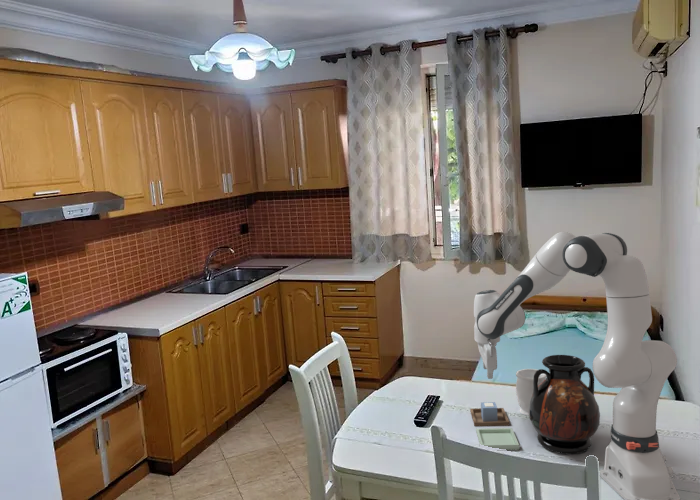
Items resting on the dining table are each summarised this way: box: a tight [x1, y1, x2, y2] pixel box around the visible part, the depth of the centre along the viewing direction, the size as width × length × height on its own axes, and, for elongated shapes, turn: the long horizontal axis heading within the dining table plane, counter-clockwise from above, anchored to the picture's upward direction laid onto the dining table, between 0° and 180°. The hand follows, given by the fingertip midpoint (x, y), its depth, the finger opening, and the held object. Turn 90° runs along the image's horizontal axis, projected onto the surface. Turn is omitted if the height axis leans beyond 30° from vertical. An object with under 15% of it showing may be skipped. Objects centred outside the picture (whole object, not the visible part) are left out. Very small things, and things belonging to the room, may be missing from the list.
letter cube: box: [480, 401, 498, 422], centre depth 208 cm, size 5×5×5 cm
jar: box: [515, 368, 546, 416], centre depth 211 cm, size 11×10×15 cm
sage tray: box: [475, 427, 520, 451], centre depth 192 cm, size 12×12×2 cm
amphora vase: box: [528, 354, 601, 455], centre depth 186 cm, size 22×22×28 cm
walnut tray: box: [469, 407, 510, 427], centre depth 208 cm, size 12×12×2 cm
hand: (487, 373), depth 206 cm, fingers open, 8 cm apart
